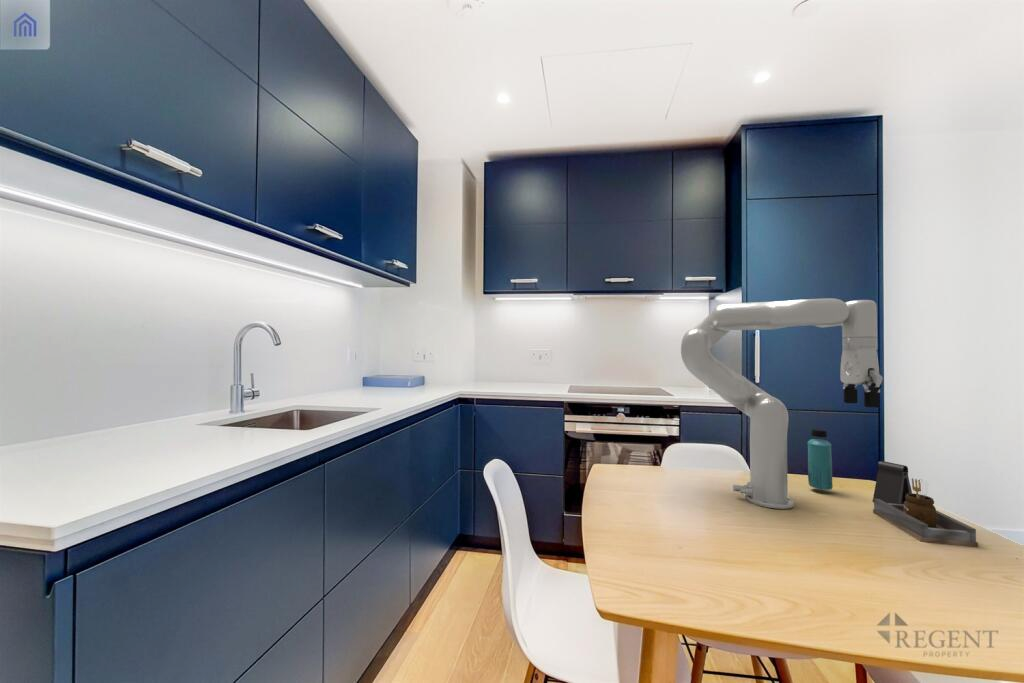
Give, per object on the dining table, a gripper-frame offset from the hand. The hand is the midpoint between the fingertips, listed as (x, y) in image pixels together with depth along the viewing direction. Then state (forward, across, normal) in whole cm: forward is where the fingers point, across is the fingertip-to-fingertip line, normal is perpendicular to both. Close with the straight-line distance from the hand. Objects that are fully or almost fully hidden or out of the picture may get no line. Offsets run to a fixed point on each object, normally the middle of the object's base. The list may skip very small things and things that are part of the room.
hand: (860, 405), depth 114 cm
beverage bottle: (+31, -19, -2) cm, 36 cm away
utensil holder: (+30, +7, +9) cm, 32 cm away
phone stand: (+31, -12, +14) cm, 36 cm away
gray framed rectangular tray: (+30, +7, +9) cm, 32 cm away
